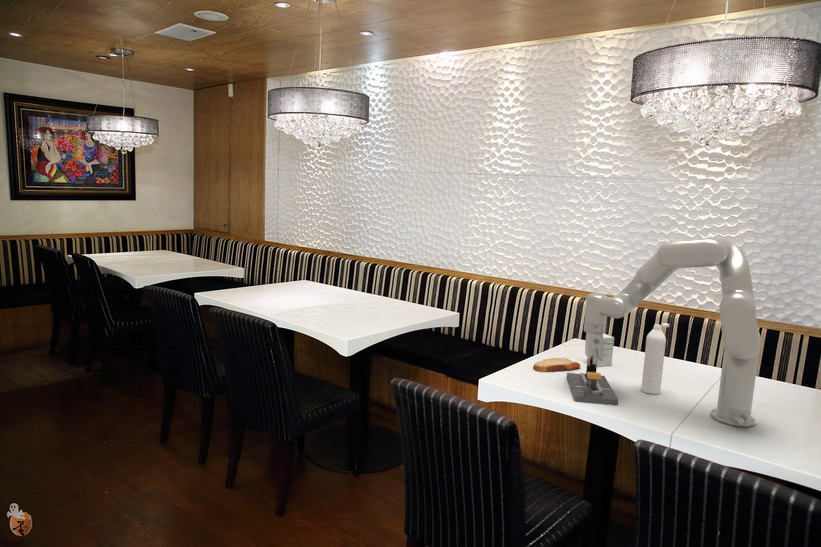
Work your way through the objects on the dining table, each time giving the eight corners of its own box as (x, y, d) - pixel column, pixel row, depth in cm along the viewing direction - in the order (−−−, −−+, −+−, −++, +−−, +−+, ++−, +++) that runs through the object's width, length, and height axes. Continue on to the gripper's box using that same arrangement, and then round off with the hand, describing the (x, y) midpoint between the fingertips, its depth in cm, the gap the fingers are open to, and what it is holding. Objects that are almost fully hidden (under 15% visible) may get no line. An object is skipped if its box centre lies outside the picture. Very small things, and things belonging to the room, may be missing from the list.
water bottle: (651, 395, 202) (659, 327, 198) (637, 389, 207) (643, 323, 204) (668, 392, 206) (675, 325, 202) (653, 386, 211) (660, 321, 208)
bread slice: (531, 371, 225) (532, 362, 224) (537, 360, 242) (537, 351, 241) (578, 378, 219) (579, 369, 218) (580, 366, 236) (581, 357, 235)
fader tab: (600, 390, 198) (601, 375, 197) (587, 389, 198) (588, 374, 198) (598, 388, 200) (600, 372, 200) (585, 386, 201) (587, 371, 200)
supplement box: (586, 362, 240) (588, 333, 239) (601, 361, 243) (603, 332, 241) (597, 367, 233) (599, 337, 232) (612, 366, 236) (614, 337, 234)
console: (617, 405, 190) (618, 396, 190) (575, 401, 192) (575, 392, 192) (604, 381, 216) (604, 372, 215) (566, 377, 218) (567, 369, 217)
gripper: (609, 333, 196) (605, 384, 198) (601, 323, 210) (597, 371, 213) (587, 331, 197) (583, 382, 199) (581, 322, 212) (577, 369, 214)
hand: (590, 376), depth 206 cm, fingers closed
